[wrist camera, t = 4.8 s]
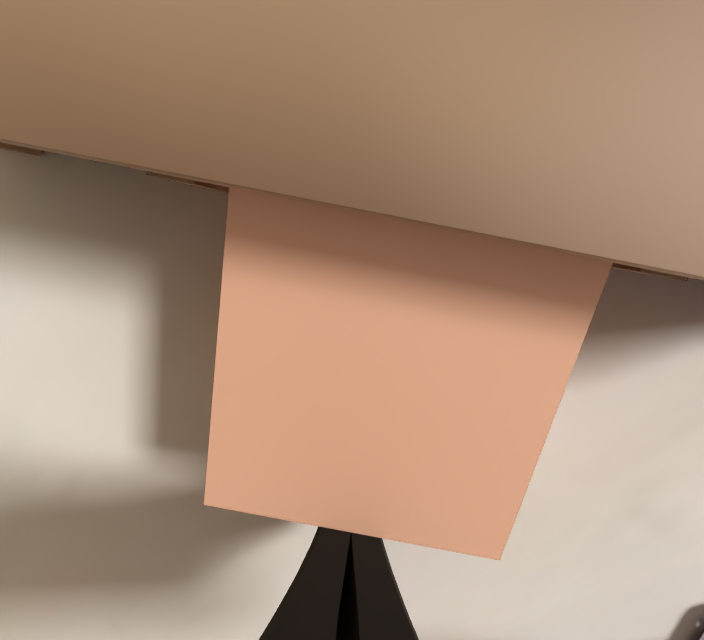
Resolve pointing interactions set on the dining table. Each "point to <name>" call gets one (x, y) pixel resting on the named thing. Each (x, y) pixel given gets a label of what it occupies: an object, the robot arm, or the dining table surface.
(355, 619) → the robot arm
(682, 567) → the dining table surface
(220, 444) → the cover
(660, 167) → the wooden stand
